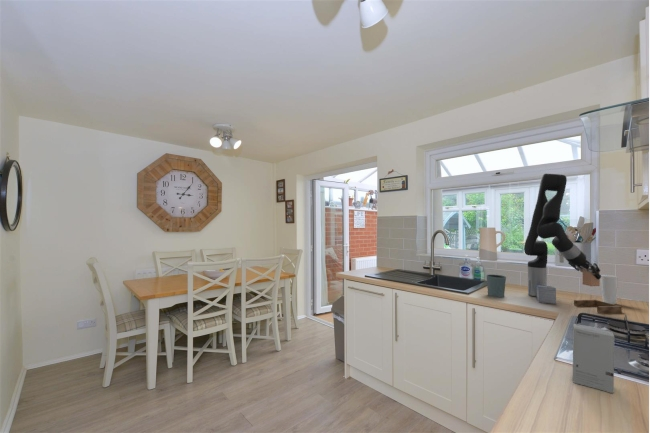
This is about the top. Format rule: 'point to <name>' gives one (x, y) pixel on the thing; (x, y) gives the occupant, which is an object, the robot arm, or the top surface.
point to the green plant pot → (496, 285)
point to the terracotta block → (590, 278)
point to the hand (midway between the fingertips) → (594, 276)
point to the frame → (599, 306)
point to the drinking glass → (609, 288)
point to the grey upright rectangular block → (593, 357)
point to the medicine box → (546, 294)
